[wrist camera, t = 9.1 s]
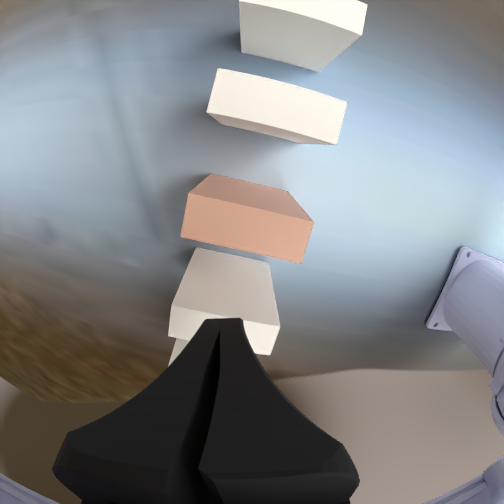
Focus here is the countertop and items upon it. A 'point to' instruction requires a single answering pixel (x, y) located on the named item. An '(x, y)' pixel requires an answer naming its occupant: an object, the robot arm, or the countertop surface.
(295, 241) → the domino
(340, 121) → the domino
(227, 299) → the domino
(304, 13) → the domino
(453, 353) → the countertop surface
